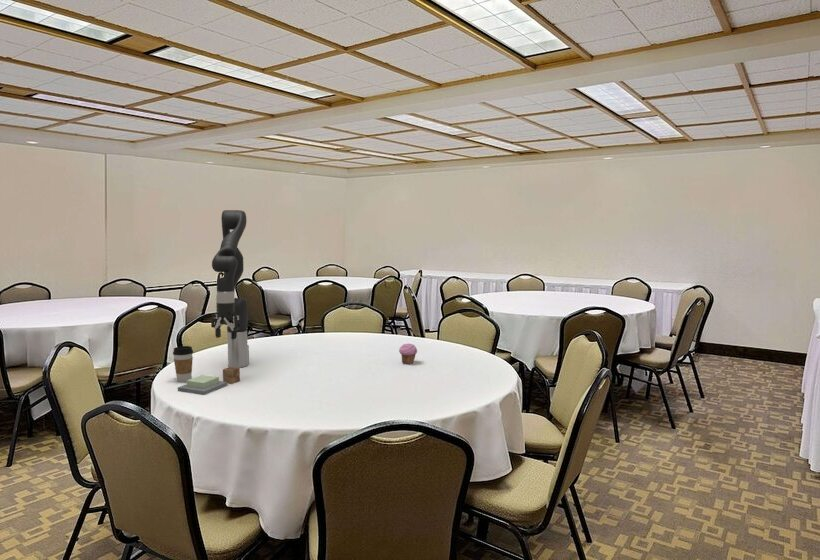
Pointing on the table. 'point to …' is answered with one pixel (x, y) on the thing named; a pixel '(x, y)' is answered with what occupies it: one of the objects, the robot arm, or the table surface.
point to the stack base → (202, 391)
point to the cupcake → (408, 353)
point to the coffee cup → (183, 363)
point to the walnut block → (231, 375)
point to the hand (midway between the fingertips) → (225, 338)
